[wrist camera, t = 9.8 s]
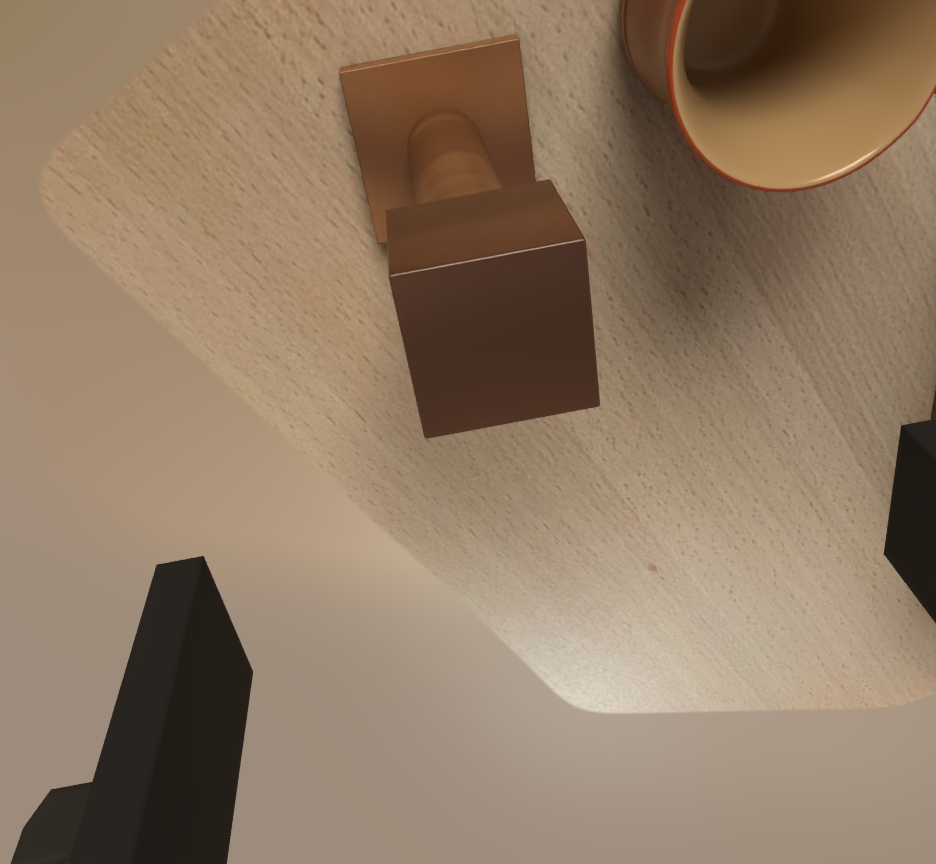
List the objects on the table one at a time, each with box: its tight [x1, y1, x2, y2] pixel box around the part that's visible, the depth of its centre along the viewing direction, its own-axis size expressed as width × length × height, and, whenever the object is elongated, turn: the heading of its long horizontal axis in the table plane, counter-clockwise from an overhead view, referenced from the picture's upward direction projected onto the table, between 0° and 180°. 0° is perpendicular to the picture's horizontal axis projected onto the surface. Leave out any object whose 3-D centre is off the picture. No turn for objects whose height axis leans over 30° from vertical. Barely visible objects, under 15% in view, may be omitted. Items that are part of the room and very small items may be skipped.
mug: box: [619, 0, 936, 192], centre depth 31 cm, size 12×9×10 cm
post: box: [339, 35, 536, 244], centre depth 31 cm, size 7×7×14 cm
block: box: [385, 180, 600, 438], centre depth 23 cm, size 4×4×4 cm
